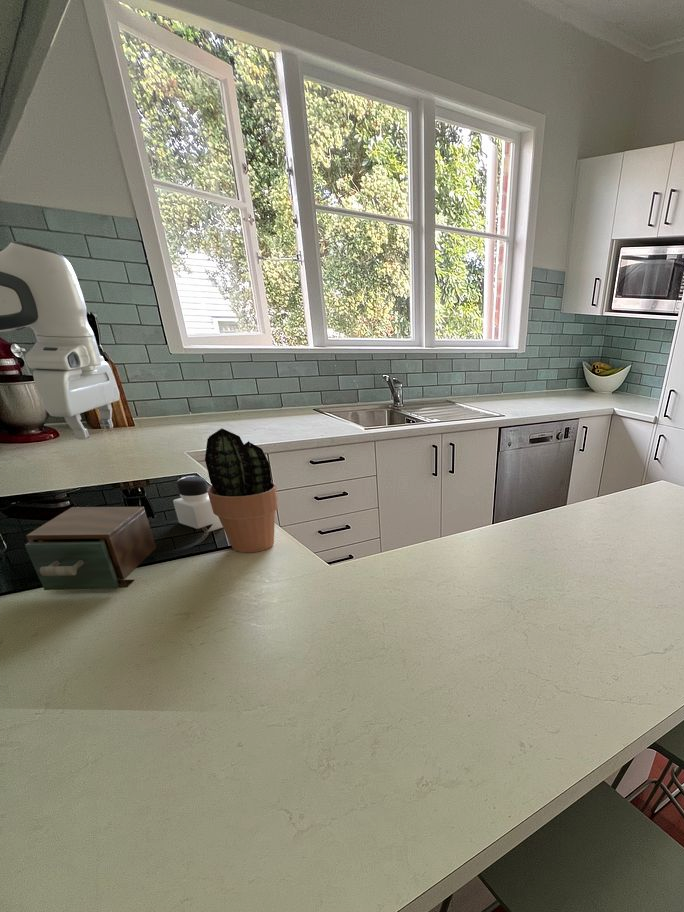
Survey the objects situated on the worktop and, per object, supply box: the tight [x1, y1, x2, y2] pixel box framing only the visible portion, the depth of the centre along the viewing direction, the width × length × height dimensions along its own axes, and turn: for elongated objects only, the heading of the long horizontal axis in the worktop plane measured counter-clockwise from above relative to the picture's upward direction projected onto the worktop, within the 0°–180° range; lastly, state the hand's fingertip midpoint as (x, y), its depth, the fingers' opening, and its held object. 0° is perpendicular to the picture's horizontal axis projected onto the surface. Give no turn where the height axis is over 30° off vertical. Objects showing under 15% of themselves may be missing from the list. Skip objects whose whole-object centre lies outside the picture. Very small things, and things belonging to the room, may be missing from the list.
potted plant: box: [204, 428, 279, 553], centre depth 115 cm, size 14×14×25 cm
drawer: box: [24, 539, 120, 591], centre depth 101 cm, size 19×12×9 cm, turn 7°
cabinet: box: [25, 506, 157, 589], centre depth 106 cm, size 16×14×11 cm
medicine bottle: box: [172, 475, 224, 534], centre depth 127 cm, size 7×7×12 cm
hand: (95, 433), depth 106 cm, fingers open, 8 cm apart
